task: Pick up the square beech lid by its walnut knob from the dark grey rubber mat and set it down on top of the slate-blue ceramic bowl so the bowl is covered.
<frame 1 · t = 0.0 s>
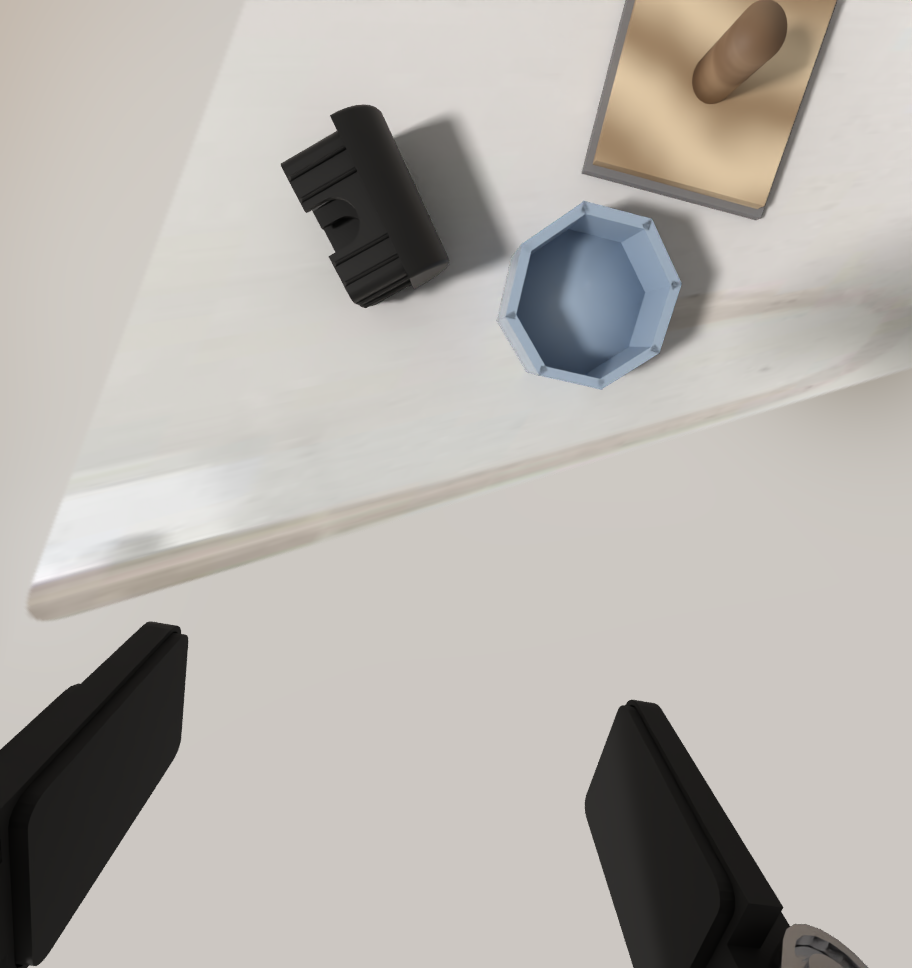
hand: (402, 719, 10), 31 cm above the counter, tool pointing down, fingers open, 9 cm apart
bowl: (573, 306, 37), on the counter
lid: (707, 84, 33), point 1 cm above the counter, touching mat
mat: (702, 89, 34), on the counter
end cap: (378, 230, 36), on the counter
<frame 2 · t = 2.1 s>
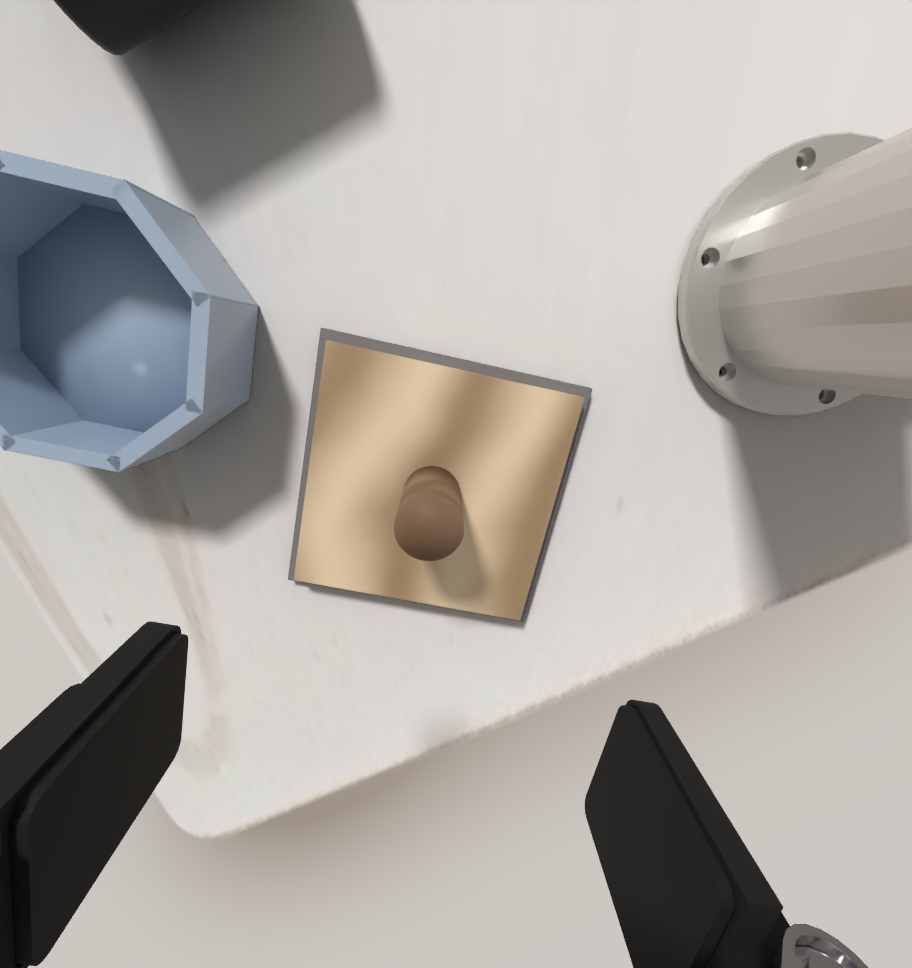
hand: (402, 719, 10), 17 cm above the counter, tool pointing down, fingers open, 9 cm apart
bowl: (138, 328, 24), on the counter
lid: (432, 489, 26), point 1 cm above the counter, touching mat
mat: (432, 485, 26), on the counter
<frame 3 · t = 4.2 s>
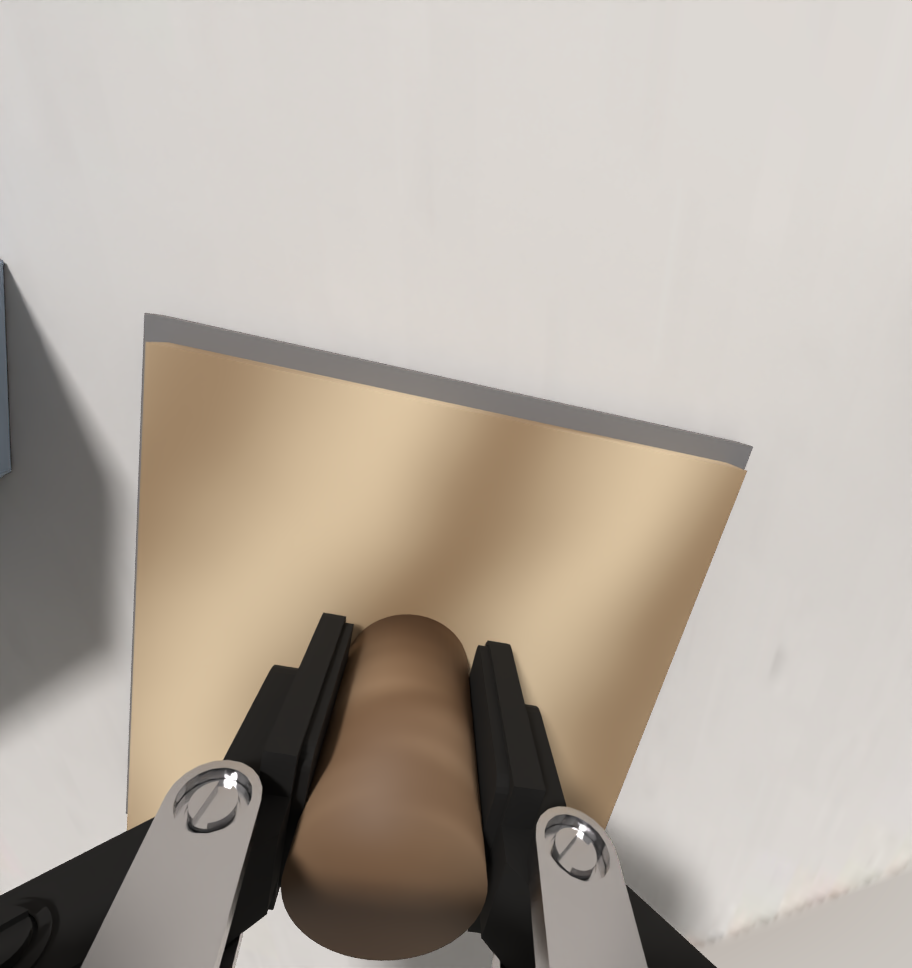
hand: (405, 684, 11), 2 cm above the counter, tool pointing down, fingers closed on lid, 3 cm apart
lid: (409, 648, 12), point 1 cm above the counter, touching gripper, mat
mat: (410, 634, 13), on the counter
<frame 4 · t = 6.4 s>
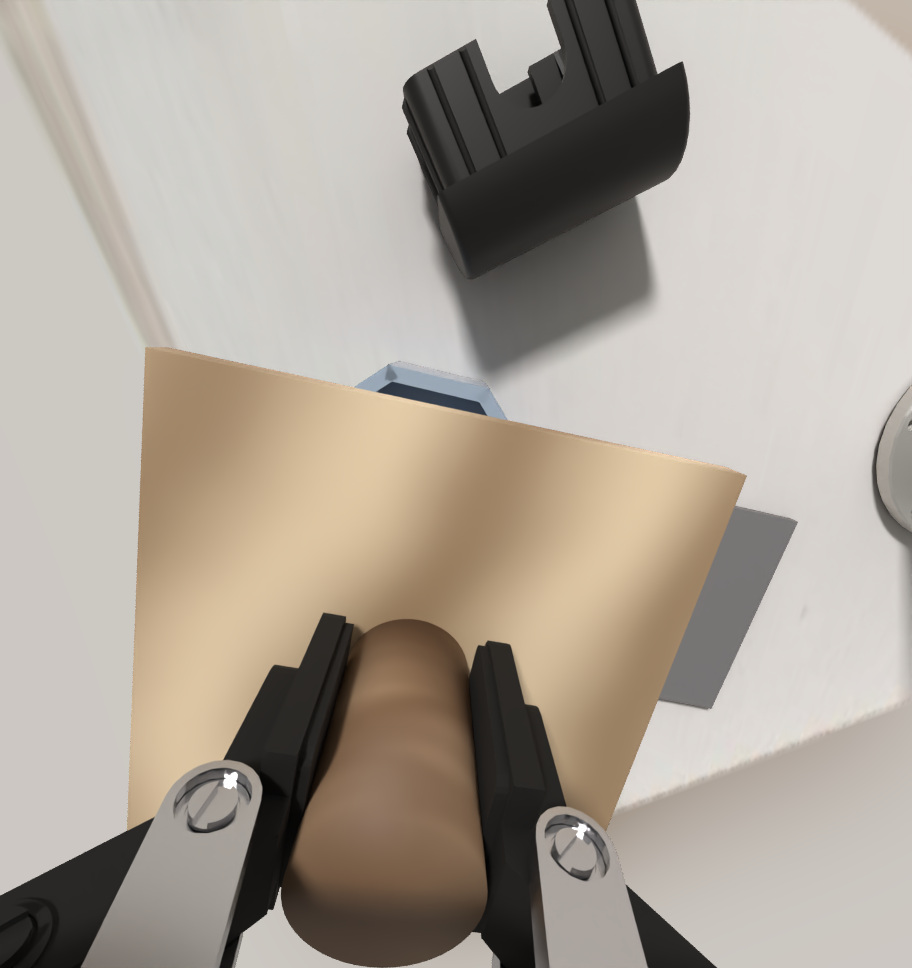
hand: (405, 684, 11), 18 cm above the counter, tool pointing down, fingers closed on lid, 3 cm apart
bowl: (419, 467, 28), on the counter
lid: (409, 652, 12), point 16 cm above the counter, touching gripper
mat: (646, 595, 31), on the counter
end cap: (523, 178, 24), on the counter
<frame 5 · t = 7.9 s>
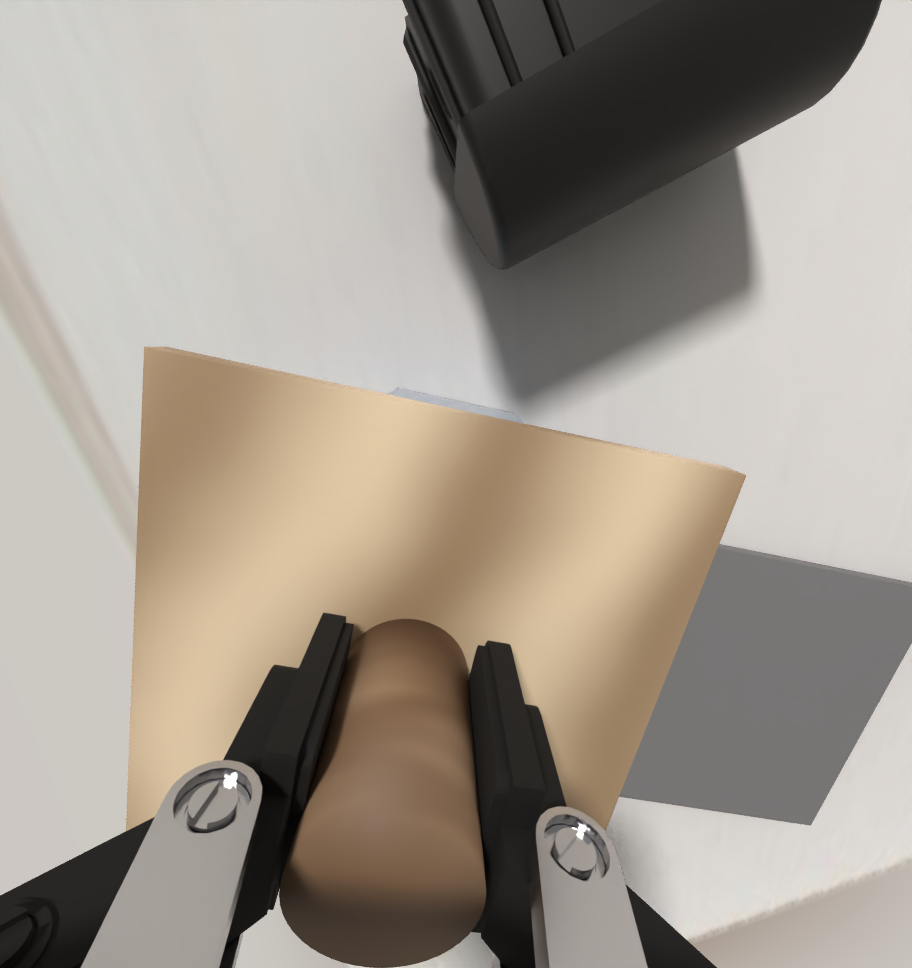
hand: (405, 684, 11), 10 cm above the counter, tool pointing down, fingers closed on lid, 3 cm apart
bowl: (427, 530, 20), on the counter
lid: (408, 652, 12), point 8 cm above the counter, touching gripper
mat: (729, 686, 23), on the counter
end cap: (573, 122, 17), on the counter
when the fingers open (8 cm above the counter, at t = 8.9 s): lid drops 1 cm, resting on bowl.
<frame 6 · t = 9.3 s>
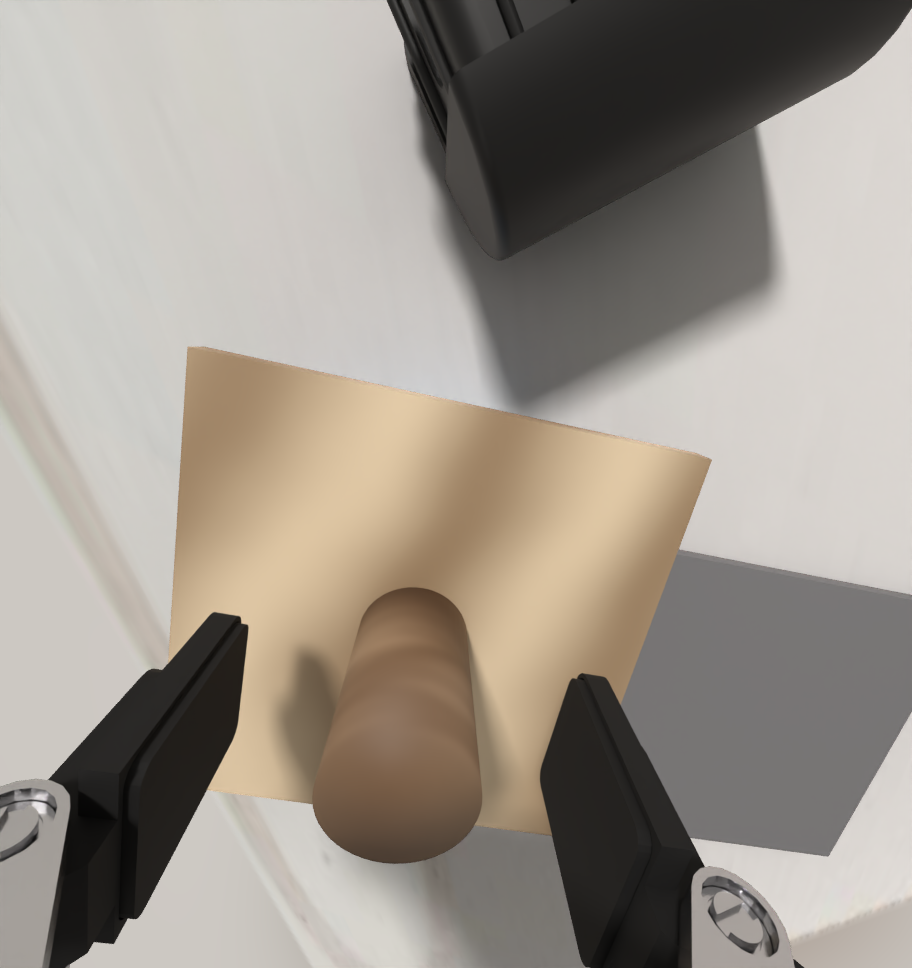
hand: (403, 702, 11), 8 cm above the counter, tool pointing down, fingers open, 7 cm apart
lid: (414, 619, 14), point 5 cm above the counter, touching bowl
mat: (743, 711, 21), on the counter
end cap: (578, 98, 15), on the counter
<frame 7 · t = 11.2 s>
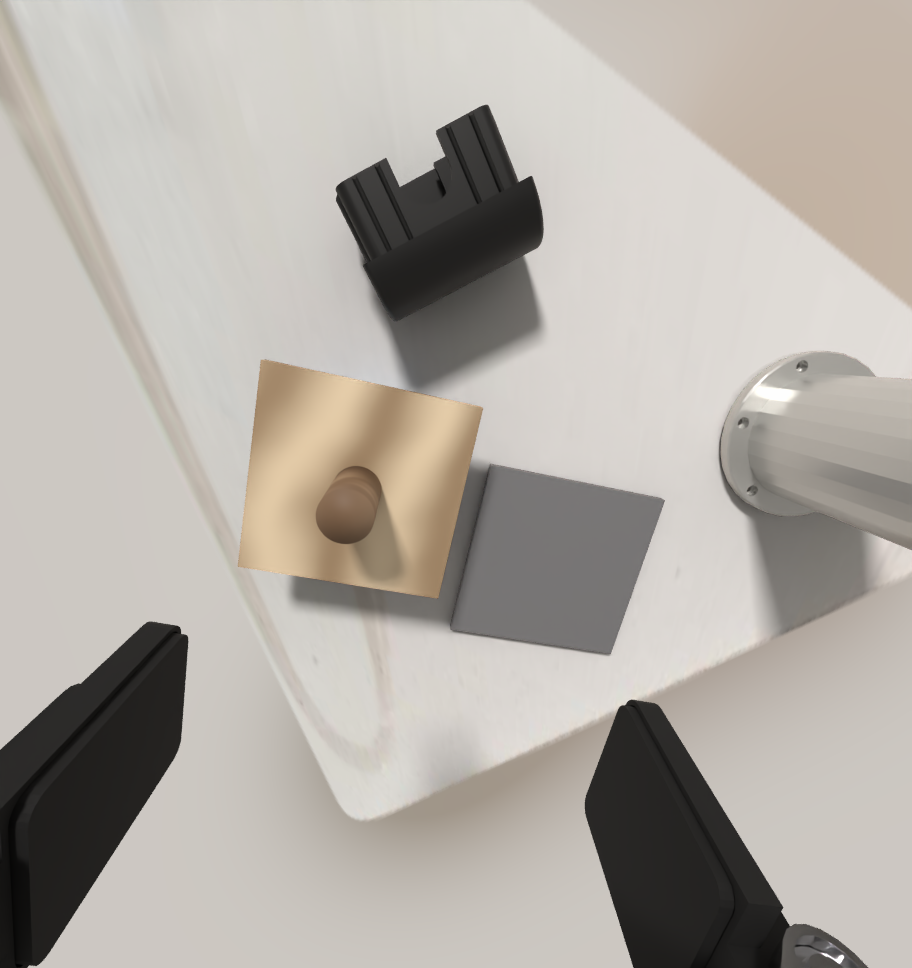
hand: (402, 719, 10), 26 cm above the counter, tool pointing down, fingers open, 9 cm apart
lid: (358, 485, 30), point 5 cm above the counter, touching bowl
mat: (553, 563, 38), on the counter
end cap: (437, 240, 31), on the counter
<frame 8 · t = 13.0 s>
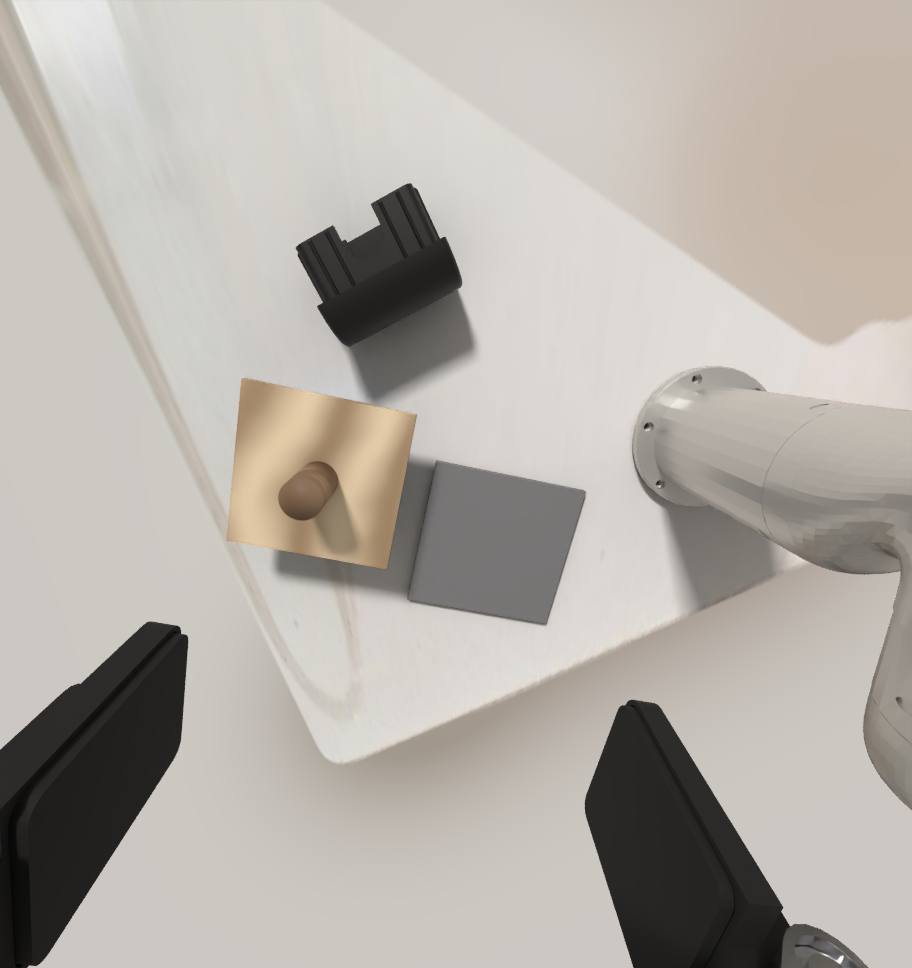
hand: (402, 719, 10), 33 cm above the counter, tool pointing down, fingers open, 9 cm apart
lid: (321, 477, 38), point 5 cm above the counter, touching bowl
mat: (493, 544, 45), on the counter
end cap: (387, 279, 39), on the counter
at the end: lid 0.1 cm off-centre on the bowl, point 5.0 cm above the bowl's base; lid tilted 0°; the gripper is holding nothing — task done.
